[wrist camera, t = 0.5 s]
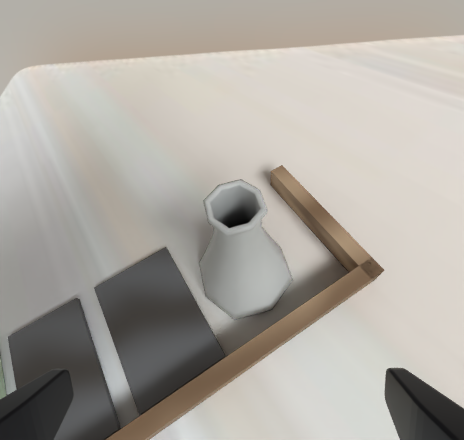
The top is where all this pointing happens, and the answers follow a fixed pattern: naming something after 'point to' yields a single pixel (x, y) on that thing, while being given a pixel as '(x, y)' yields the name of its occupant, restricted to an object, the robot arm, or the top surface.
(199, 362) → the box
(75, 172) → the top surface
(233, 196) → the flask
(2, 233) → the top surface
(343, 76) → the top surface
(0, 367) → the pad
